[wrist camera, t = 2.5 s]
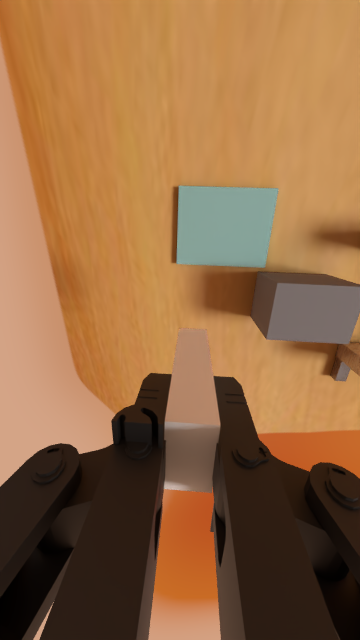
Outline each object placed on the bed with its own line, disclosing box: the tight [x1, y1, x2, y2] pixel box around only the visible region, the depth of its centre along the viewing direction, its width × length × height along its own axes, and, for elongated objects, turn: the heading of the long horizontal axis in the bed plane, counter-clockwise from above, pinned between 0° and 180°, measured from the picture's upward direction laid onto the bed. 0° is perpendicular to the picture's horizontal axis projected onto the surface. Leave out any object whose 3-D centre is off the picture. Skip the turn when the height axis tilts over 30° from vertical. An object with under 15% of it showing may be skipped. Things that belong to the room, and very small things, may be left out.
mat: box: [177, 186, 278, 268], centre depth 21 cm, size 7×9×1 cm
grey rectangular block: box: [251, 272, 360, 344], centre depth 21 cm, size 5×7×6 cm
